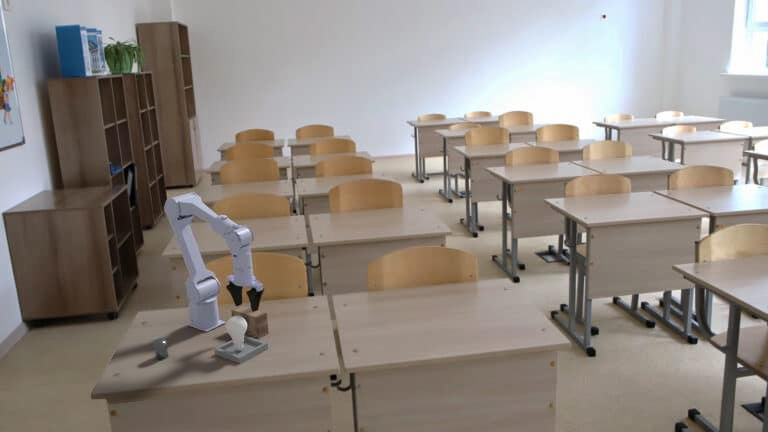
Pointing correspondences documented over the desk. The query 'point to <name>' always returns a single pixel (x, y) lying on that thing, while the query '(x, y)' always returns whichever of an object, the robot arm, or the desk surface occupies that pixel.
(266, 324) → the lamp housing
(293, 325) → the desk surface
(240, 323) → the lightbulb
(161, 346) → the fuse
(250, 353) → the tray
